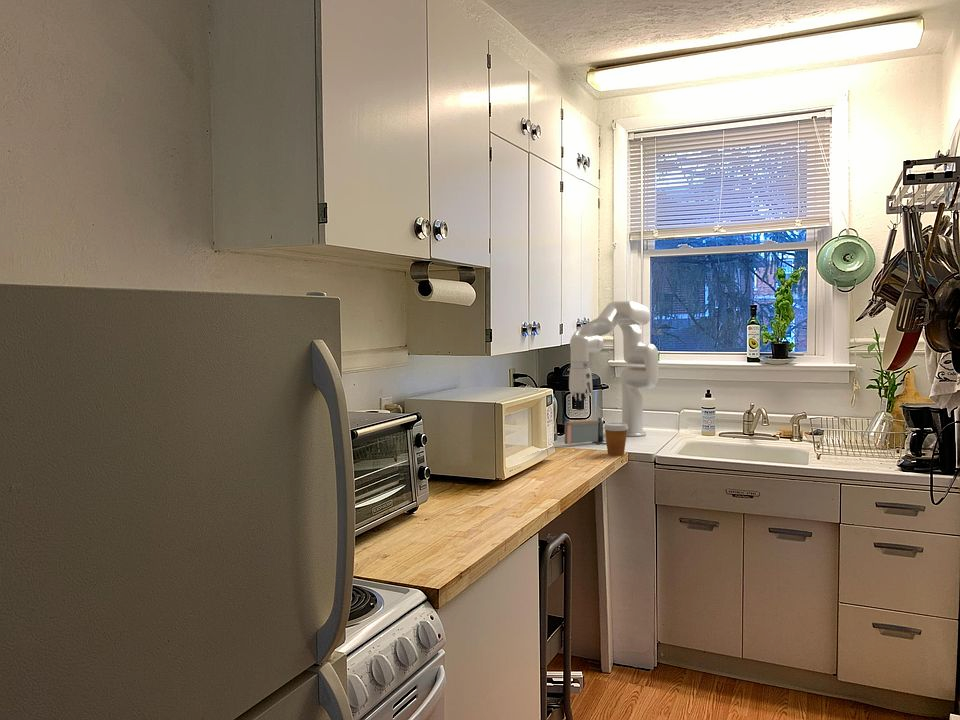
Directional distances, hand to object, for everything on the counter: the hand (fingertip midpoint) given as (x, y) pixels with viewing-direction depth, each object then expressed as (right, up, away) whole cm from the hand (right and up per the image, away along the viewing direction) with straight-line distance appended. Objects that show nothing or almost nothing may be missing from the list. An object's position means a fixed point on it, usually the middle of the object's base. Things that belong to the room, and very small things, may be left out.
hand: (580, 409), depth 306 cm
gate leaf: (+2, -14, +7) cm, 16 cm away
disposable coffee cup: (+12, -17, -16) cm, 26 cm away
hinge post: (+10, -15, +12) cm, 22 cm away
